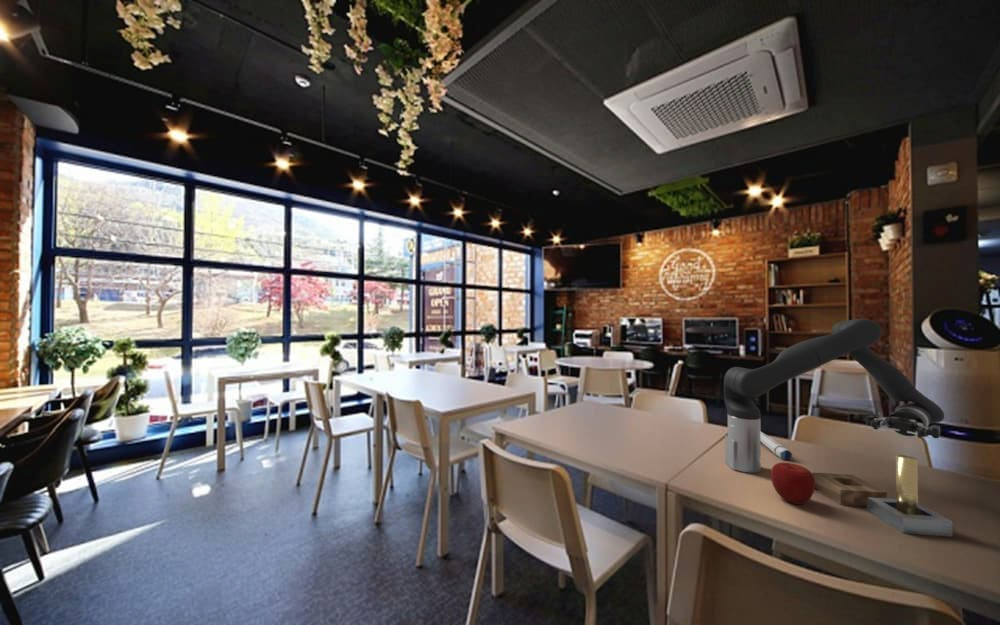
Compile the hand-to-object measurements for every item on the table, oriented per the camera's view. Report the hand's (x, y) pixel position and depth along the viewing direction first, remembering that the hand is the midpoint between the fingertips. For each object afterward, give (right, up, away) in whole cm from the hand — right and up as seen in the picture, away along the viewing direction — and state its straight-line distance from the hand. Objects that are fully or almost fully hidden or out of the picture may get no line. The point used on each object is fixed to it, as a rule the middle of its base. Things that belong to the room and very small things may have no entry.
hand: (896, 429), depth 103 cm
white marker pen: (-8, -20, +39) cm, 45 cm away
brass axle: (-10, -19, -12) cm, 25 cm away
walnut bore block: (-12, -19, +1) cm, 23 cm away
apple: (-30, -19, -1) cm, 36 cm away
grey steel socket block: (-10, -19, -12) cm, 25 cm away
